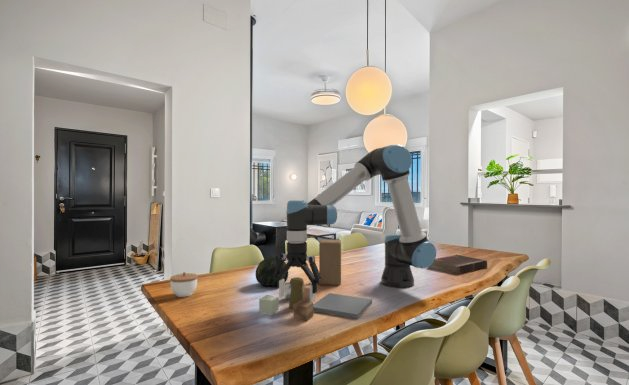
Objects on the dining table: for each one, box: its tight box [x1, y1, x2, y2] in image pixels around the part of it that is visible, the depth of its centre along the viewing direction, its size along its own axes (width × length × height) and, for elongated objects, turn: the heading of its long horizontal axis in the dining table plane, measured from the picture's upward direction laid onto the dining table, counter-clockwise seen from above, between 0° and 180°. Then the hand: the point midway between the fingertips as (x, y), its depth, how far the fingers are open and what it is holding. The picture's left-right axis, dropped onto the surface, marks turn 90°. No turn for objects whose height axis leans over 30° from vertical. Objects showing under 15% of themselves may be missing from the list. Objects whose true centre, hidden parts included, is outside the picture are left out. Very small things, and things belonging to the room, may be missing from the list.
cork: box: [288, 276, 305, 311], centre depth 122 cm, size 6×6×11 cm
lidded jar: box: [170, 271, 199, 298], centre depth 138 cm, size 11×11×9 cm
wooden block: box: [318, 238, 342, 286], centre depth 156 cm, size 10×10×20 cm
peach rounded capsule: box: [302, 285, 310, 302], centre depth 131 cm, size 5×5×5 cm
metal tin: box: [284, 281, 291, 302], centre depth 132 cm, size 5×5×6 cm
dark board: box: [313, 292, 373, 320], centre depth 123 cm, size 18×18×2 cm
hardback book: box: [427, 254, 488, 275], centre depth 188 cm, size 29×19×5 cm, turn 124°
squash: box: [255, 254, 289, 287], centre depth 153 cm, size 14×15×15 cm
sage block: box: [258, 294, 280, 316], centre depth 118 cm, size 5×5×5 cm
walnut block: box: [293, 300, 314, 323], centre depth 112 cm, size 5×5×5 cm
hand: (296, 299), depth 122 cm, fingers open, 12 cm apart
